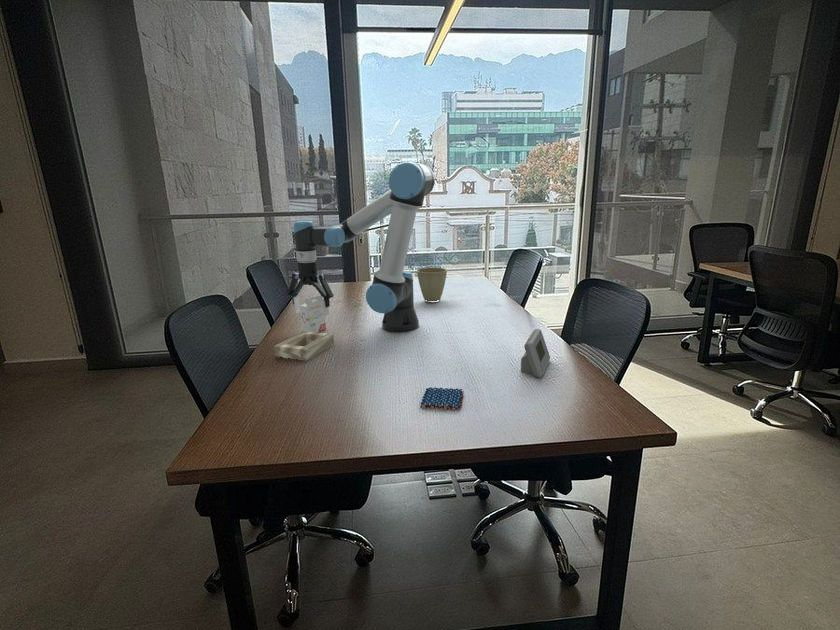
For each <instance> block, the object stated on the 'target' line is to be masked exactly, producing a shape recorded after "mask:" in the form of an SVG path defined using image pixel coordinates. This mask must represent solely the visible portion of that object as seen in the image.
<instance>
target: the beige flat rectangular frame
mask: <svg viewBox="0 0 840 630" xmlns="http://www.w3.org/2000/svg"><path fill="white" fill-rule="evenodd" d="M334 338H335V337H334V333H327V332H325V333H324V332H308V331H303V330H302V332H299V333H297V334H295V335H294V336H292V337H290V338H288V339H285V340H283V341H282V342H280V343H278V344H275V345H274V354H275V357H276V356H277V357H276V358H280V357H283V358H282V359H288V358H290V360H296V359H297V360H298V361H304V362H307V361H309V360H311V359H313V358H314V357H316V356H318V355H319V354H321V353H323V352H324V351H326V350H327V349H329V348H330V347H332V346H334V345H335V339H334Z"/></svg>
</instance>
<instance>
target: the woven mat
mask: <svg viewBox="0 0 840 630" xmlns="http://www.w3.org/2000/svg"><path fill="white" fill-rule="evenodd" d="M464 392H465V391H464V390H463V388H452V387H446V388H444V387H431V386H430V387H427V388H425V390H424V393H423V396H422V399H421V402H420V404H421V405H420V408H422V409H426V408H427V409H431V410H433V409H436V410H438V409H439V410H440V411H442V410H444V411H445V410H448V411H450V410H451V409H452V411H455V410H457V411H460V409H461V408H462V406H463V404H462V403H463V398H464V395H465V394H464Z"/></svg>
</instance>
